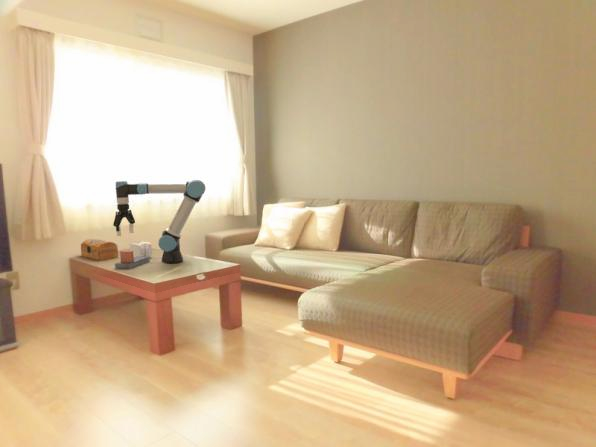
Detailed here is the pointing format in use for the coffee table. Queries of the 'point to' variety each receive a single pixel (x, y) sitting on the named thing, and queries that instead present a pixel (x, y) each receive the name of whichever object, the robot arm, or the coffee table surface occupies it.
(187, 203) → the robot arm
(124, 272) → the coffee table surface
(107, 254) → the wooden box
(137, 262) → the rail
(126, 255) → the clip
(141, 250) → the cable organizer
